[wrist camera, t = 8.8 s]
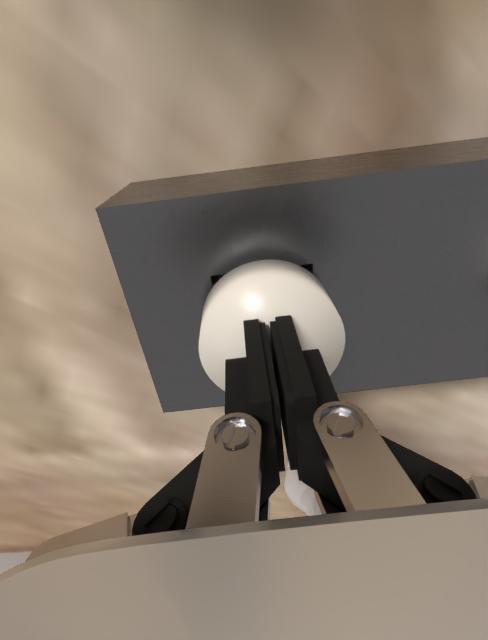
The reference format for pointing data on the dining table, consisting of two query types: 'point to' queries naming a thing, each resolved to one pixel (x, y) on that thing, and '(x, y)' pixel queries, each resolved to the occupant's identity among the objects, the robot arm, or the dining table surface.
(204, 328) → the knob
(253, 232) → the mount
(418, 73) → the dining table surface
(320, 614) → the robot arm
